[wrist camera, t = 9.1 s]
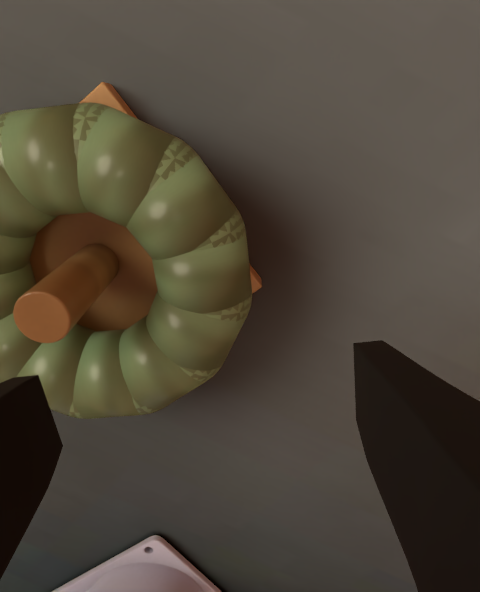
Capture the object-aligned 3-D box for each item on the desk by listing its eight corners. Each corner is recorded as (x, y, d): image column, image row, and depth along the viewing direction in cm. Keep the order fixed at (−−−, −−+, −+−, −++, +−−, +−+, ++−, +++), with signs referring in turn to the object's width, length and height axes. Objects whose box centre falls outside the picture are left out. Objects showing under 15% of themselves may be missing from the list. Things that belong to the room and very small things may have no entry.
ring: (98, 426, 22) (71, 481, 19) (-101, 230, 19) (-178, 255, 15) (306, 294, 19) (317, 331, 16) (116, 31, 16) (80, 8, 12)
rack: (101, 389, 22) (46, 489, 16) (-56, 234, 20) (-192, 286, 14) (262, 279, 20) (266, 349, 14) (110, 82, 17) (33, 64, 11)
